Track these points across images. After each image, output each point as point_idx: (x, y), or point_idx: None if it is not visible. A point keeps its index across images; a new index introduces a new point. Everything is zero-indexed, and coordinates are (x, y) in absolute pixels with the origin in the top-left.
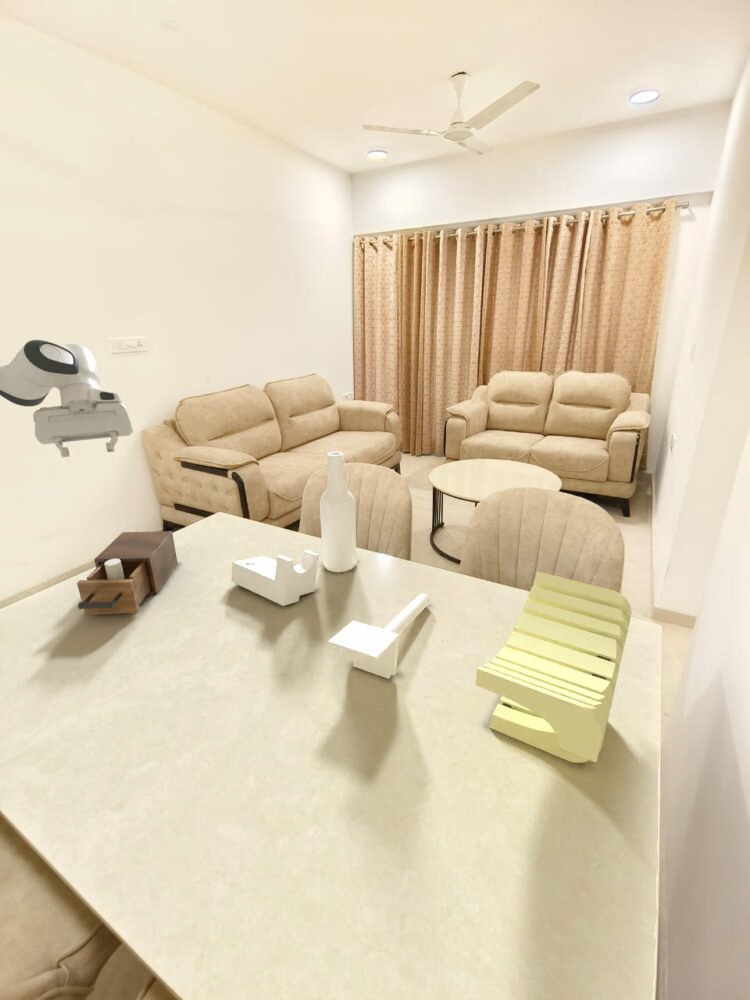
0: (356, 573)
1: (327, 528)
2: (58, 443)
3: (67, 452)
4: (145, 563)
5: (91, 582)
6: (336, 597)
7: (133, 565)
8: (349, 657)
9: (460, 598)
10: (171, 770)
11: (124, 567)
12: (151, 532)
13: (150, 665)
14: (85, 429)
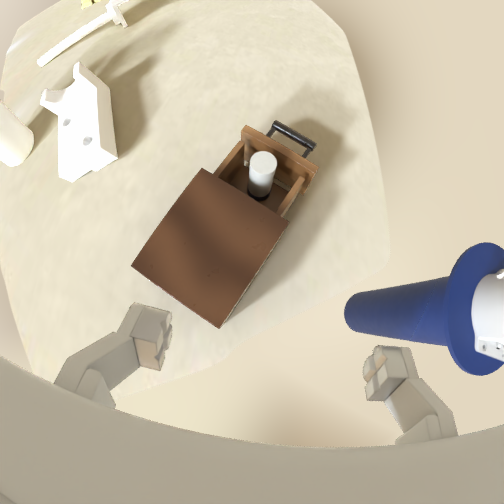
0: None
1: (5, 109)
2: (430, 401)
3: (381, 347)
4: None
5: (299, 155)
6: None
7: None
8: (126, 23)
9: (24, 68)
10: (263, 10)
11: None
12: (166, 286)
13: (253, 75)
14: (269, 465)
